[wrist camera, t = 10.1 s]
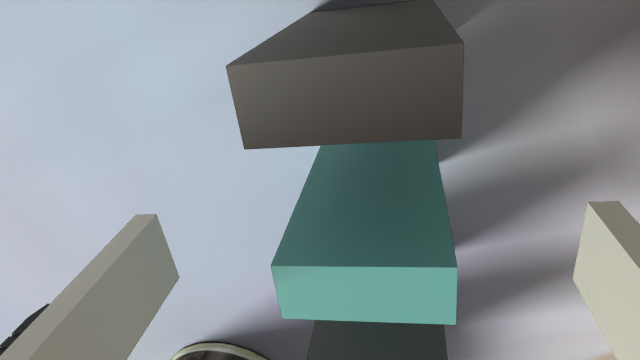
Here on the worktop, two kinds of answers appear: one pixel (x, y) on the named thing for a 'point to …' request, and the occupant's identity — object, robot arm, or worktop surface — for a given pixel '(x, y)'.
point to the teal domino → (369, 238)
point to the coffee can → (216, 352)
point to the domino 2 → (376, 341)
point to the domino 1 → (352, 79)
